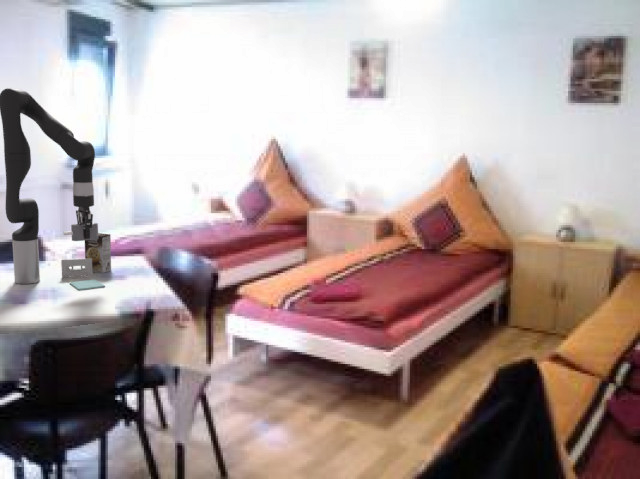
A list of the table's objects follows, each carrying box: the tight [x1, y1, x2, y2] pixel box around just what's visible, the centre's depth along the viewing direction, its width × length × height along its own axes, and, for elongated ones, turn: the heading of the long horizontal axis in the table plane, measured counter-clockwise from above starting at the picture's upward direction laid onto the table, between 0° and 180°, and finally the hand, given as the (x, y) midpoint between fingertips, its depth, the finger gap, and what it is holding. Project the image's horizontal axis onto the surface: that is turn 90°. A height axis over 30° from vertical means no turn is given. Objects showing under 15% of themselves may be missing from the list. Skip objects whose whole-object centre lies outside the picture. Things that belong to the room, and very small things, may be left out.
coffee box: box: [84, 232, 112, 274], centre depth 283 cm, size 9×6×16 cm
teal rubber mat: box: [69, 278, 106, 291], centre depth 259 cm, size 12×10×1 cm
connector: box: [63, 222, 99, 242], centre depth 254 cm, size 4×13×6 cm, turn 127°
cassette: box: [60, 258, 94, 279], centre depth 271 cm, size 12×2×8 cm, turn 108°
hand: (85, 237), depth 255 cm, fingers closed on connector, 4 cm apart
